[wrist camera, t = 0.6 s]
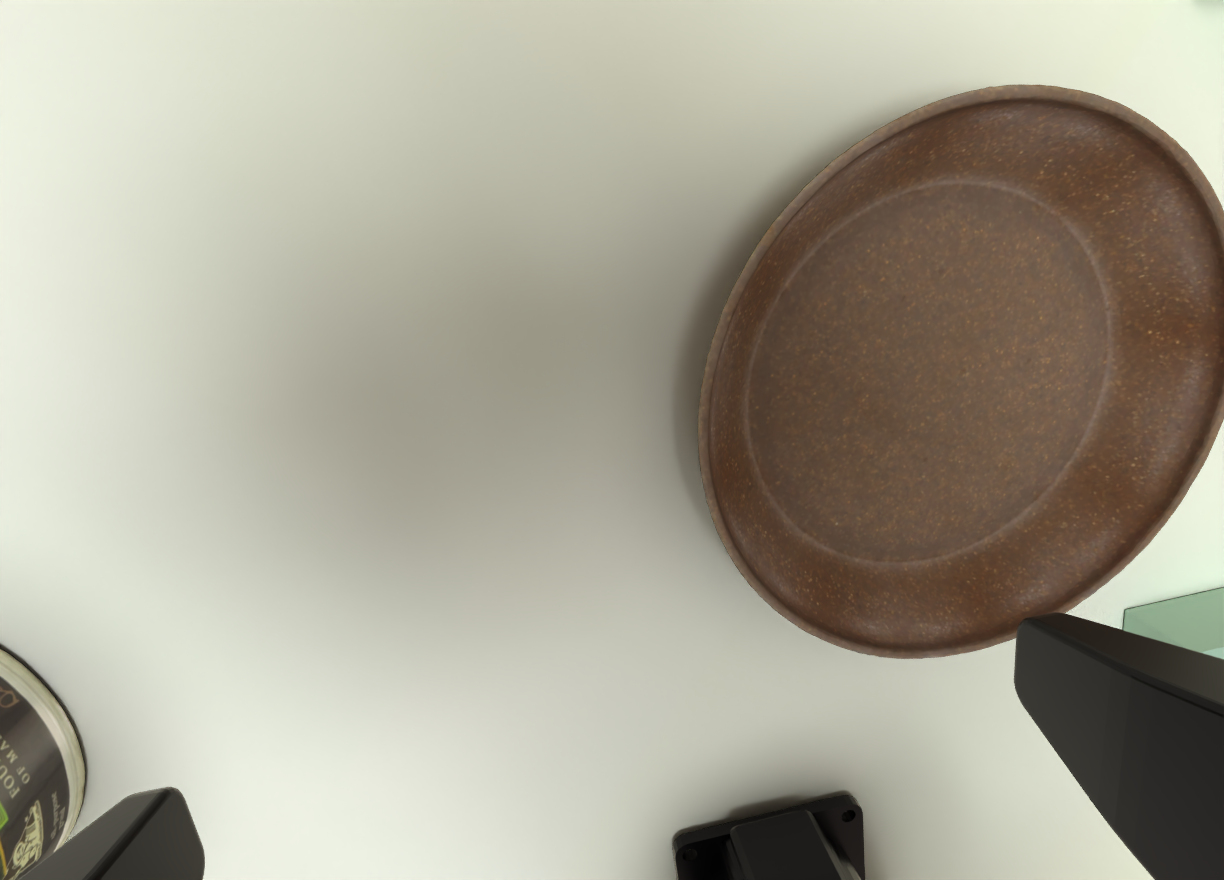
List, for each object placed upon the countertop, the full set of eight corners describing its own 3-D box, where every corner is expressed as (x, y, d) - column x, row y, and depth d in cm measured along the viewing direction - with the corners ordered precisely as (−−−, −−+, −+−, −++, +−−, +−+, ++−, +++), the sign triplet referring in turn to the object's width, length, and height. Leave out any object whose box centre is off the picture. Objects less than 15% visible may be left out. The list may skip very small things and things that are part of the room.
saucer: (1225, 414, 22) (1319, 441, 20) (844, 693, 23) (886, 752, 21) (1032, -31, 17) (1124, -73, 15) (562, 348, 18) (573, 370, 16)
